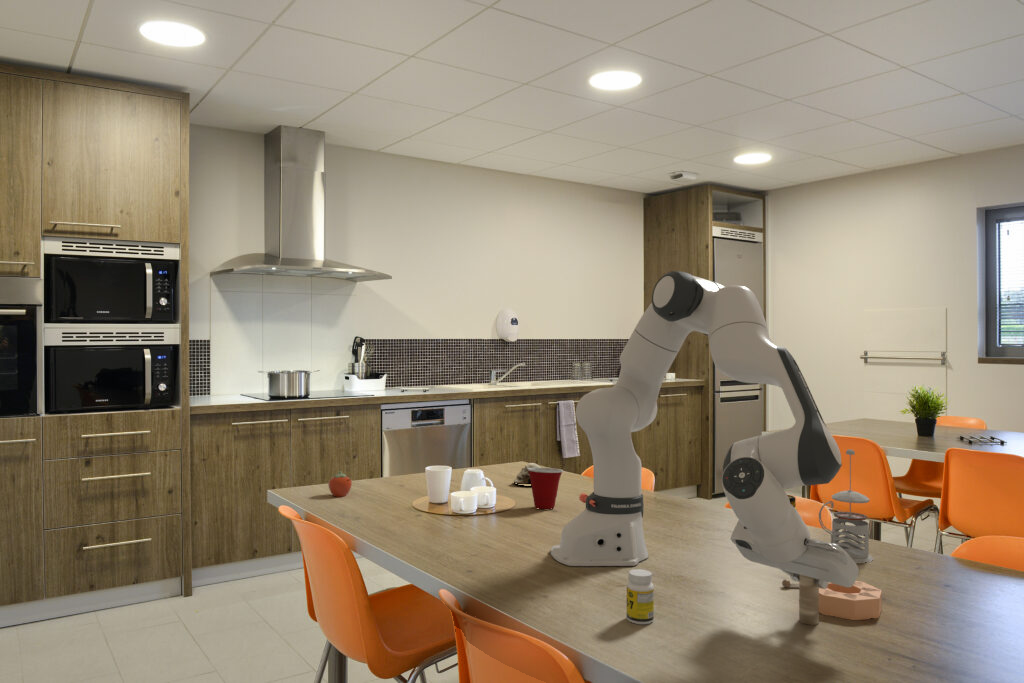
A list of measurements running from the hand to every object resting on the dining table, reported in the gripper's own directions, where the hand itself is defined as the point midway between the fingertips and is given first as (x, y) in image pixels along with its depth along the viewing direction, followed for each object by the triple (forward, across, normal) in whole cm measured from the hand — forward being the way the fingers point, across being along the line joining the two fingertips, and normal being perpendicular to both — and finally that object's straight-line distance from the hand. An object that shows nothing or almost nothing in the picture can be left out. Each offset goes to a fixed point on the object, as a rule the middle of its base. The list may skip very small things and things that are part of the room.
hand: (810, 581), depth 128 cm
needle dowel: (+4, 0, +5) cm, 7 cm away
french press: (+37, +16, -26) cm, 48 cm away
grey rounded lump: (+35, +128, -24) cm, 135 cm away
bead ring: (+13, 0, -3) cm, 13 cm away
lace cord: (+19, +7, -9) cm, 22 cm away
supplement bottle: (-12, +18, +22) cm, 31 cm away
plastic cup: (+20, +97, -10) cm, 99 cm away
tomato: (-9, +149, +20) cm, 151 cm away
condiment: (+34, +31, -24) cm, 52 cm away
